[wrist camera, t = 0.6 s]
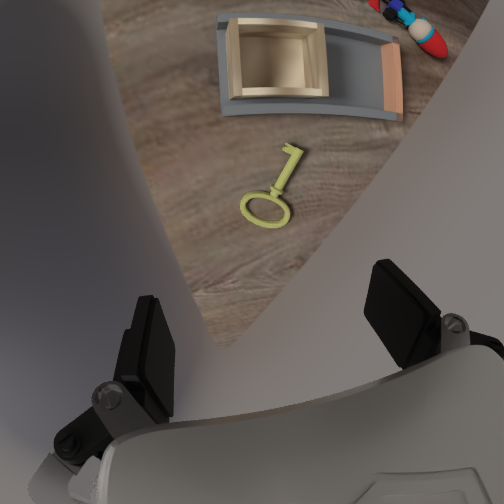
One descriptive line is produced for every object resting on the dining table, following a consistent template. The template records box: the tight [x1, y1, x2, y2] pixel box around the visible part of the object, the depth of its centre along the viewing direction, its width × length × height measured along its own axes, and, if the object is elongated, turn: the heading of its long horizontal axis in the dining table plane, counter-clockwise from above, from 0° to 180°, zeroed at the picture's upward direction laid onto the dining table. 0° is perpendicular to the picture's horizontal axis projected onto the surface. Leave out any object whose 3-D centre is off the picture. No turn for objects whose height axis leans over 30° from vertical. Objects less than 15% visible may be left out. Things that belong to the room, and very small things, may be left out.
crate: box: [225, 18, 329, 100], centre depth 25 cm, size 10×9×6 cm
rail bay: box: [216, 13, 403, 122], centre depth 27 cm, size 24×13×4 cm, turn 93°
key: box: [240, 143, 304, 228], centre depth 35 cm, size 7×12×2 cm, turn 172°
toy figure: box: [368, 0, 448, 58], centre depth 24 cm, size 8×5×15 cm
